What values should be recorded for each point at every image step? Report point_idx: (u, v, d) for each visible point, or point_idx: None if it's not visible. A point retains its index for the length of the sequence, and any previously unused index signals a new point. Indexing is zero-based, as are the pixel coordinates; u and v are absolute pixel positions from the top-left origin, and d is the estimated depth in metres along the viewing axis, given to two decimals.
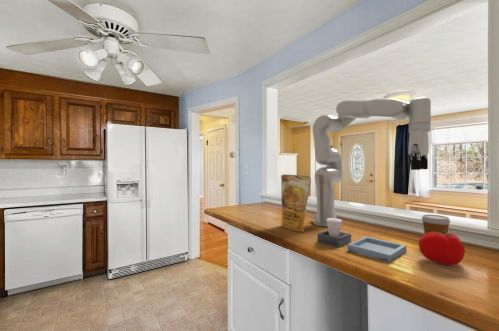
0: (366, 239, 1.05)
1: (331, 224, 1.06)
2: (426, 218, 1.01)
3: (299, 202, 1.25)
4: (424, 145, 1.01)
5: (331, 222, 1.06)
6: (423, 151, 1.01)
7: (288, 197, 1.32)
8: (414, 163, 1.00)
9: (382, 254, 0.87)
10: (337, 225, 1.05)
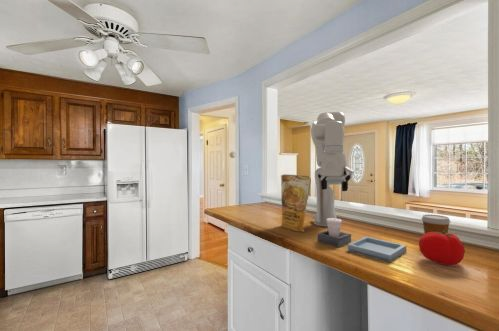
0: (366, 239, 1.05)
1: (331, 224, 1.06)
2: (426, 218, 1.01)
3: (300, 202, 1.25)
4: None
5: (331, 222, 1.06)
6: None
7: (288, 197, 1.32)
8: (346, 185, 1.03)
9: (382, 254, 0.87)
10: (337, 225, 1.05)
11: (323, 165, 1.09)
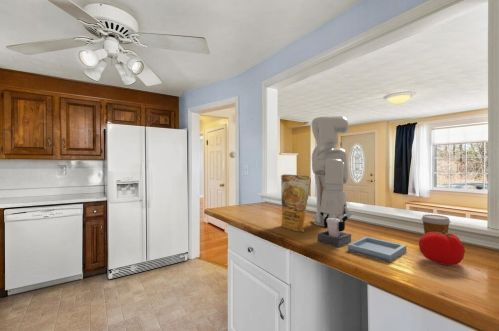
0: (366, 239, 1.05)
1: (331, 224, 1.06)
2: (426, 218, 1.01)
3: (299, 202, 1.25)
4: None
5: (331, 222, 1.06)
6: None
7: (288, 197, 1.32)
8: (343, 225, 1.05)
9: (382, 254, 0.87)
10: (337, 225, 1.05)
11: (323, 202, 1.09)
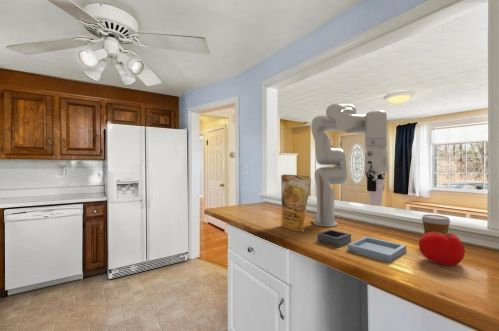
0: (366, 239, 1.05)
1: (383, 184, 0.95)
2: (426, 218, 1.01)
3: (299, 202, 1.25)
4: None
5: (384, 181, 0.94)
6: None
7: (288, 197, 1.32)
8: None
9: (382, 254, 0.87)
10: None
11: (379, 160, 0.92)
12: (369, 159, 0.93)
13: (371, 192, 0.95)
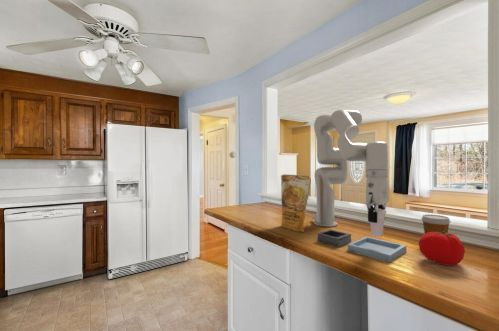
0: (366, 239, 1.05)
1: (384, 214, 0.94)
2: (426, 218, 1.01)
3: (299, 202, 1.25)
4: None
5: (385, 212, 0.94)
6: None
7: (288, 197, 1.32)
8: None
9: (382, 254, 0.87)
10: None
11: (380, 192, 0.92)
12: (370, 190, 0.93)
13: (372, 223, 0.95)
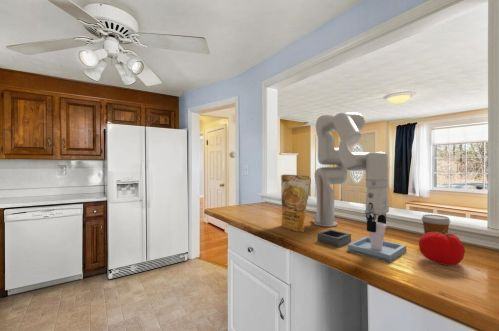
0: (366, 239, 1.05)
1: (384, 228, 0.95)
2: (426, 218, 1.01)
3: (299, 202, 1.25)
4: None
5: (385, 226, 0.95)
6: None
7: (288, 197, 1.32)
8: None
9: (382, 254, 0.87)
10: None
11: (380, 202, 0.92)
12: (370, 201, 0.93)
13: (372, 236, 0.96)
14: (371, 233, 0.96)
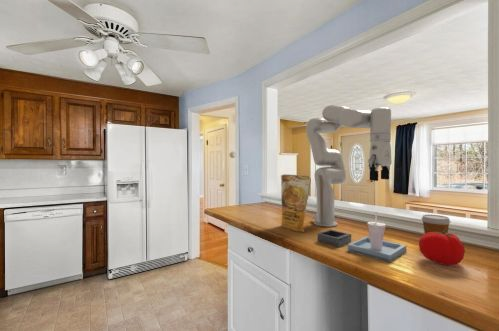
0: (366, 239, 1.05)
1: (384, 228, 0.95)
2: (426, 218, 1.01)
3: (299, 202, 1.25)
4: None
5: (385, 226, 0.95)
6: None
7: (288, 197, 1.32)
8: None
9: (382, 254, 0.87)
10: None
11: (382, 154, 0.99)
12: (373, 152, 1.00)
13: (372, 236, 0.96)
14: (371, 233, 0.96)
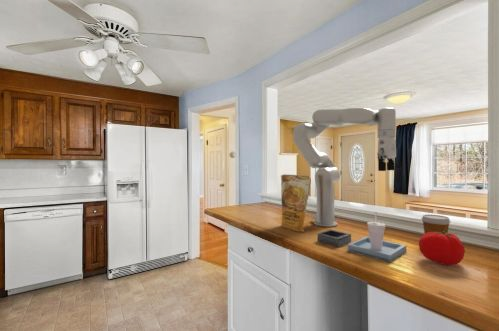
0: (366, 239, 1.05)
1: (384, 228, 0.95)
2: (426, 218, 1.01)
3: (299, 202, 1.25)
4: None
5: (384, 226, 0.95)
6: None
7: (288, 197, 1.32)
8: None
9: (382, 254, 0.87)
10: None
11: (389, 147, 1.14)
12: (381, 146, 1.16)
13: (371, 236, 0.95)
14: (371, 233, 0.96)
